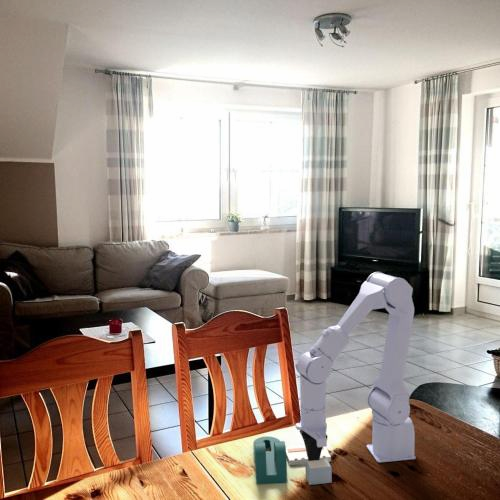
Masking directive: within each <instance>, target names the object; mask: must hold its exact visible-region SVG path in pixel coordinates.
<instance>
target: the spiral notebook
mask: <svg viewBox="0 0 500 500" xmlns="http://www.w3.org/2000/svg"><path fill="white" fill-rule="evenodd" d="M326 447H327V446H326ZM326 447H323V448H322V451H321V455H320V459H319V460H324V459H327V460H328V462H329V463H330V462H332V456H331V454H330V453H329V451H328V449H327V448H326ZM286 458H287V464H289V466H294V465H295V466H297V465H306V464H305V461H309V460H308V457H307V452H306V447H305V445H303V446H302V445H301V446H292V447H286Z"/></svg>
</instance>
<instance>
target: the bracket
mask: <svg viewBox="0 0 500 500" xmlns="http://www.w3.org/2000/svg"><path fill="white" fill-rule="evenodd" d="M285 442H286V441H284V440H283V441H282V440H280V439H279V438H278V437H274V436H261V437H258V438H255V440H254V441H253V443H252V444H253V460H254V470H255V472H254V473H255V481H256V485H274V484H287V483H288V460H287V458H286V448H287V447H286V443H285ZM266 448H268V449H270V451H266Z"/></svg>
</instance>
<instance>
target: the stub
mask: <svg viewBox="0 0 500 500" xmlns="http://www.w3.org/2000/svg"><path fill="white" fill-rule="evenodd" d="M304 465H305V478H306V481H307V482H308V485H309V486H311V485H319V484H321V485H322V484H329V483H332V472H333V471H332V470H333V469H332V466H331V464H330V461H329V462H328V460H327V459H324V460H313V461H305V464H304Z"/></svg>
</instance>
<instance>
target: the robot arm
mask: <svg viewBox="0 0 500 500" xmlns="http://www.w3.org/2000/svg"><path fill="white" fill-rule="evenodd" d="M413 288H414V287H412V286H411V284H410V283H408V281H407V280H406V279H405V278H402V277H397V276H393V275H390V274H385V273H383V272H382V271H375V272H373V273H371V274H370V275H368V277H367V278H366V280H365V281H364V282H363V283H362V284H361V286H360V289H359V292H358V294H357V296H356V297H355V299H354V300H353V301H352V303H351V304H350V306H349V307H348V309H347V310H346V312H345V313H344V314H343V315H342V316H341V318H340V320H339V321H338V323H337V324H336V325H331V326H328V327H326V329H323V330H322V332H321V336H320V337H319V338H318V339H317V341H316V342H315V343H314V344H313V346H310V348H308V351H306V352H303V353H302V354H301V355H300V356H299V357H298V360H297V362H296V363H295V370H296V372H297V373H299V376H300V377H299V378H300V379H299V381H300V386H299V387H300V388H299V389H300V393H299V394H300V395H299V396H300V401H299V402H300V420H299V421H300V422H297V423H295V428H296V430H298V431H299V433H300V435H301V438H302V439H303V442H304V446H305V447H306V452H307V457H308V460H309V461H313V460H319V459H320V455H321V451H322V448H323V447H328V445H327V443H328V442H327V441H328V435H327V427H328V424H327V406H326V403H327V396H326V395H327V392H326V391H327V389H326V388H327V385H326V383H327V382H326V380H328V379H329V377H330V376H331V374H332V373H331V372H332V367H333V365H334V362H335V361H336V360H337V359H338V357H339V356H340V354H341V353H342V352H343V351H344V349H345V348H346V347H347V346H348V345H349V342H350V338H349V335H350V334H351V333H352V332H353V331H354V329H355V328H356V327H357V326H358V325H359V324H360V323H361V322H362V321H363V320H364V319H365V317H367V315H368V314H369V313H371V312H372V310H379V309H385V310H386V311H387V312H388V313H389V315H388V321H387V326H386V328H387V329H386V333H385V340H384V341H385V342H384V348H383V354H382V360H381V367H380V373H379V377H377V378H376V379H374V380H373V381H372V385H371V388H370V390H369V392H368V393H367V397H366V402H367V405H368V407H369V408H370V410H371V414H372V432H371V433H372V435H371V436H372V439H371V442H372V444H367V445H365V446H366V448H367V450H368V451H369V452H370V454H371V455H372V456H373V458H374V460H375V461H376V462H377V463H387V462H398V461H408V460H410V461H411V460H416V455H415V436H416V435H415V433H416V432H415V427H414V424H413V423H414V422H413V420H412V418H410V417H409V416H410V413H411V406H410V401H409V398H410V393H409V391H408V389H407V387H406V385H405V383H404V378H405V374H406V373H405V371H406V368H407V367H406V365H407V359H408V354H409V349H410V348H409V347H410V343H411V342H410V341H411V335H412V334H411V333H412V328H413V320H414V315H415V306H414V302H413V297H412V296H413V291H414V289H413Z"/></svg>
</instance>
